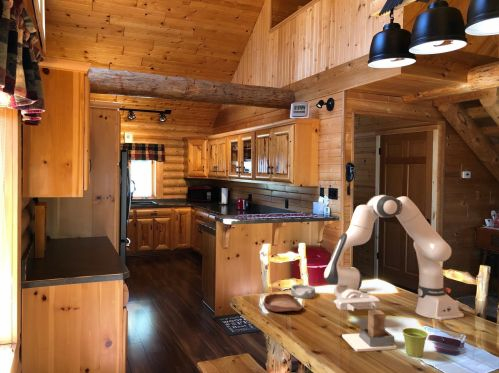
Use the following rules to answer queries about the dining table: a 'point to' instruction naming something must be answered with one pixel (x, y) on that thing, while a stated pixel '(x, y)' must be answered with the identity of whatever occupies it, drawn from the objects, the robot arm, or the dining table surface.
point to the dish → (302, 291)
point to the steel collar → (376, 338)
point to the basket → (281, 303)
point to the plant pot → (414, 341)
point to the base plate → (363, 343)
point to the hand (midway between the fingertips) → (364, 308)
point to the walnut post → (376, 323)
